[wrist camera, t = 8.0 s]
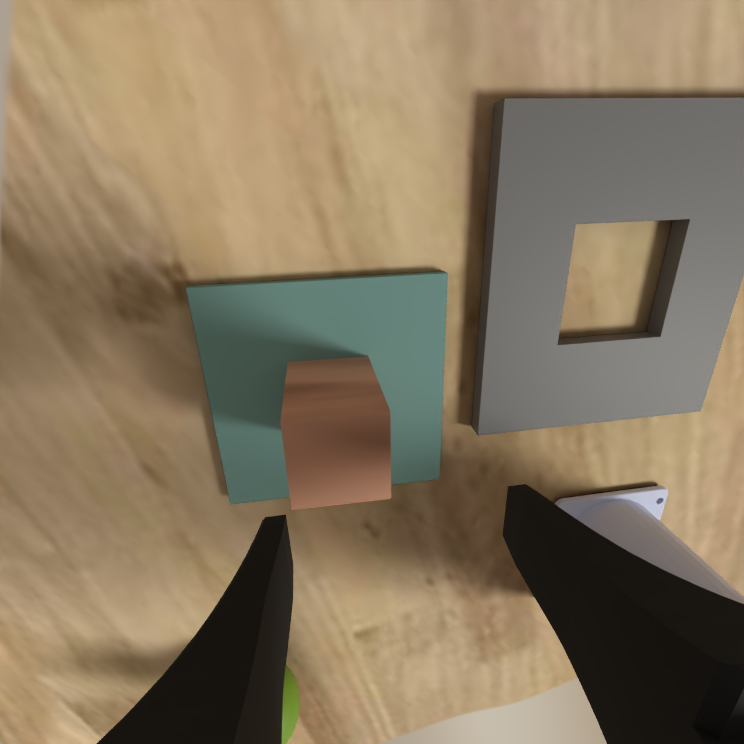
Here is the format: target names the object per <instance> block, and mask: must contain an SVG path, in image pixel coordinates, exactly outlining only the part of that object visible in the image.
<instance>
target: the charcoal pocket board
mask: <svg viewBox="0 0 744 744" xmlns="http://www.w3.org/2000/svg"><path fill="white" fill-rule="evenodd" d="M657 220H673V222H672V226H671V230H670V235H669V239H668V243H667V247H666V252H665V256H664V260H663V264H662V269H661V273H660V277H659V281H658V285H657V290H656V294H655V298H654V302H653V307H652V311H651V315H650V319H649V323H648V328H647V332H635V333H623V334H610V335H598V336H585V337H573V338H560V339H558V338H559V332H560V325H561V318H562V312H563V305H564V299H565V292H566V285H567V279H568V272H569V265H570V259H571V252H572V246H573V239H574V232H575V226H576V224H589V223H612V222H635V221H657ZM743 275H744V98H505V99H503V100H501V101H499V102H497V103H495V104H494V117H493V131H492V146H491V160H490V174H489V188H488V202H487V216H486V230H485V244H484V258H483V272H482V286H481V300H480V314H479V328H478V342H477V356H476V370H475V384H474V398H473V412H472V426H471V427H472V428H473V429H474V431H475V432H476V433H477V435H486V434H495V433H504V432H514V431H523V430H532V429H541V428H551V427H560V426H569V425H578V424H588V423H597V422H606V421H615V420H624V419H634V418H643V417H652V416H661V415H671V414H680V413H689V412H698V411H701V408H702V405H703V402H704V399H705V396H706V392H707V389H708V386H709V383H710V380H711V377H712V373H713V370H714V367H715V364H716V361H717V357H718V354H719V351H720V348H721V345H722V341H723V338H724V335H725V332H726V329H727V326H728V322H729V319H730V316H731V313H732V310H733V306H734V303H735V300H736V297H737V294H738V291H739V287H740V284H741V281H742V278H743Z"/></svg>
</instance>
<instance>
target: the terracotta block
mask: <svg viewBox="0 0 744 744" xmlns="http://www.w3.org/2000/svg"><path fill="white" fill-rule="evenodd" d="M280 423H281V431H282V439H283V447H284V455H285V463H286V471H287V479H288V487H289V495H290V503H291V510H300V509H308V508H317V507H325V506H334V505H342V504H351V503H359V502H368V501H376V500H384V499H391V412H390V409H389V407H388V404H387V402H386V399H385V397H384V394H383V392H382V389H381V387H380V384H379V382H378V379H377V377H376V374H375V372H374V369H373V367H372V364H371V362H370V359H369V357H368V356H363V357H350V358H336V359H322V360H309V361H295V362H288V363H287V372H286V380H285V388H284V396H283V404H282V412H281V420H280Z"/></svg>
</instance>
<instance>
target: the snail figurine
mask: <svg viewBox="0 0 744 744" xmlns="http://www.w3.org/2000/svg"><path fill="white" fill-rule="evenodd" d="M299 707H300V696H299V689H298V685H297V682H296V679H295V677H294V675H293V673H292V672H291V670H290V669H289V668H288V667H287V666H286V667H285V676H284V689H283V712H282V744H286V743H287V741H288V740H289V738H290V737H291V735H292V733H293V731H294V728H295V726H296V722H297V719H298V714H299Z"/></svg>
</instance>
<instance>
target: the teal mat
mask: <svg viewBox="0 0 744 744" xmlns="http://www.w3.org/2000/svg"><path fill="white" fill-rule="evenodd" d="M447 278H448V273H446V272H444V271H440V272H422V273H405V274H387V275H369V276H352V277H334V278H316V279H299V280H281V281H263V282H246V283H228V284H210V285H193V286H188V287H187V288H186V291H187V296H188V301H189V306H190V311H191V316H192V320H193V325H194V330H195V335H196V340H197V345H198V349H199V354H200V359H201V364H202V369H203V374H204V378H205V383H206V388H207V393H208V398H209V403H210V407H211V412H212V417H213V422H214V427H215V432H216V436H217V441H218V446H219V451H220V456H221V461H222V465H223V470H224V475H225V480H226V485H227V490H228V494H229V499H230V504H237V503H245V502H254V501H262V500H270V499H279V498H287V497H290V495H289V487H288V479H287V471H286V463H285V455H284V447H283V439H282V431H281V423H280V420H281V412H282V404H283V396H284V388H285V380H286V372H287V363H288V362H295V361H309V360H322V359H336V358H350V357H363V356H368V357H369V359H370V362H371V364H372V367H373V369H374V372H375V374H376V377H377V379H378V382H379V384H380V387H381V389H382V392H383V394H384V397H385V399H386V402H387V404H388V407H389V409H390V412H391V485H395V484H403V483H411V482H420V481H428V480H436V479H440V457H441V431H442V406H443V380H444V354H445V329H446V303H447Z"/></svg>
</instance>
